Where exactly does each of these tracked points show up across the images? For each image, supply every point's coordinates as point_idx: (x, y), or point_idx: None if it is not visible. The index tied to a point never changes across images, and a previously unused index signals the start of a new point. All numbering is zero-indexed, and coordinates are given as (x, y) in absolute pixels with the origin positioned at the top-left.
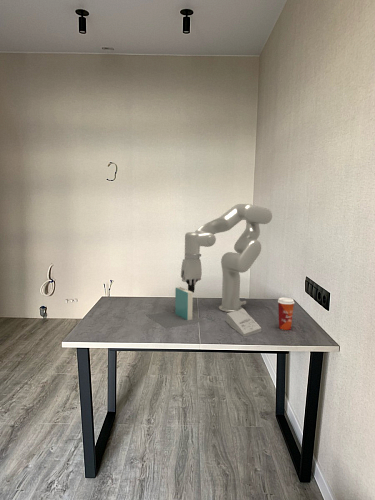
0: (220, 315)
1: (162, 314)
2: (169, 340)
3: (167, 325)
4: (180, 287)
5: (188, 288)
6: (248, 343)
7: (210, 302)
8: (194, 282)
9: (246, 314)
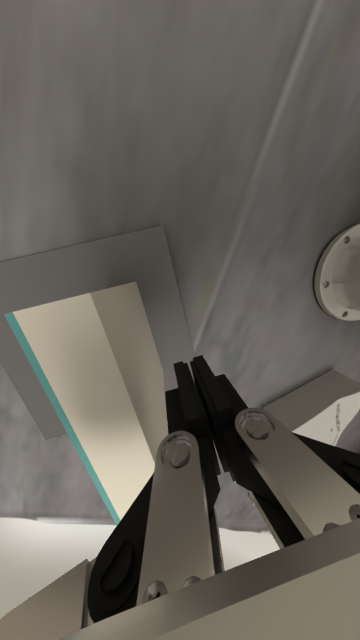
0: (280, 337)
1: (43, 280)
2: (52, 506)
3: (54, 416)
4: (84, 318)
5: (168, 411)
6: (236, 526)
7: (345, 124)
8: (273, 515)
9: (338, 429)
